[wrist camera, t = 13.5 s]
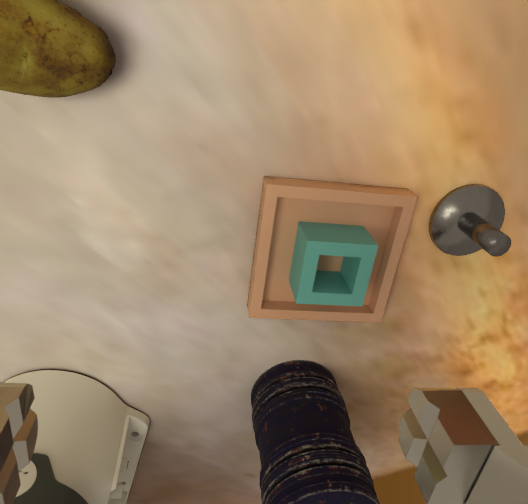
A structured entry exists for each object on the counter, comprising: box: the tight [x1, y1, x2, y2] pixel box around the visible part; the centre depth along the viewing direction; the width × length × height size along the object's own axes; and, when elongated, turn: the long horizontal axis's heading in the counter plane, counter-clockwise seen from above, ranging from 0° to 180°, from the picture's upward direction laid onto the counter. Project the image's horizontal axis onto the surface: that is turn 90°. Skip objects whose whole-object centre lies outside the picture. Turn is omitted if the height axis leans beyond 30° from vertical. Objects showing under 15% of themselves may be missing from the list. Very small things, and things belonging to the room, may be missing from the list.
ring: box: [289, 221, 378, 306], centre depth 39 cm, size 6×6×4 cm
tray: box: [247, 176, 417, 323], centre depth 41 cm, size 13×13×2 cm
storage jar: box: [251, 360, 379, 504], centre depth 43 cm, size 10×10×15 cm
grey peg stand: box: [429, 184, 511, 256], centre depth 39 cm, size 7×7×6 cm
